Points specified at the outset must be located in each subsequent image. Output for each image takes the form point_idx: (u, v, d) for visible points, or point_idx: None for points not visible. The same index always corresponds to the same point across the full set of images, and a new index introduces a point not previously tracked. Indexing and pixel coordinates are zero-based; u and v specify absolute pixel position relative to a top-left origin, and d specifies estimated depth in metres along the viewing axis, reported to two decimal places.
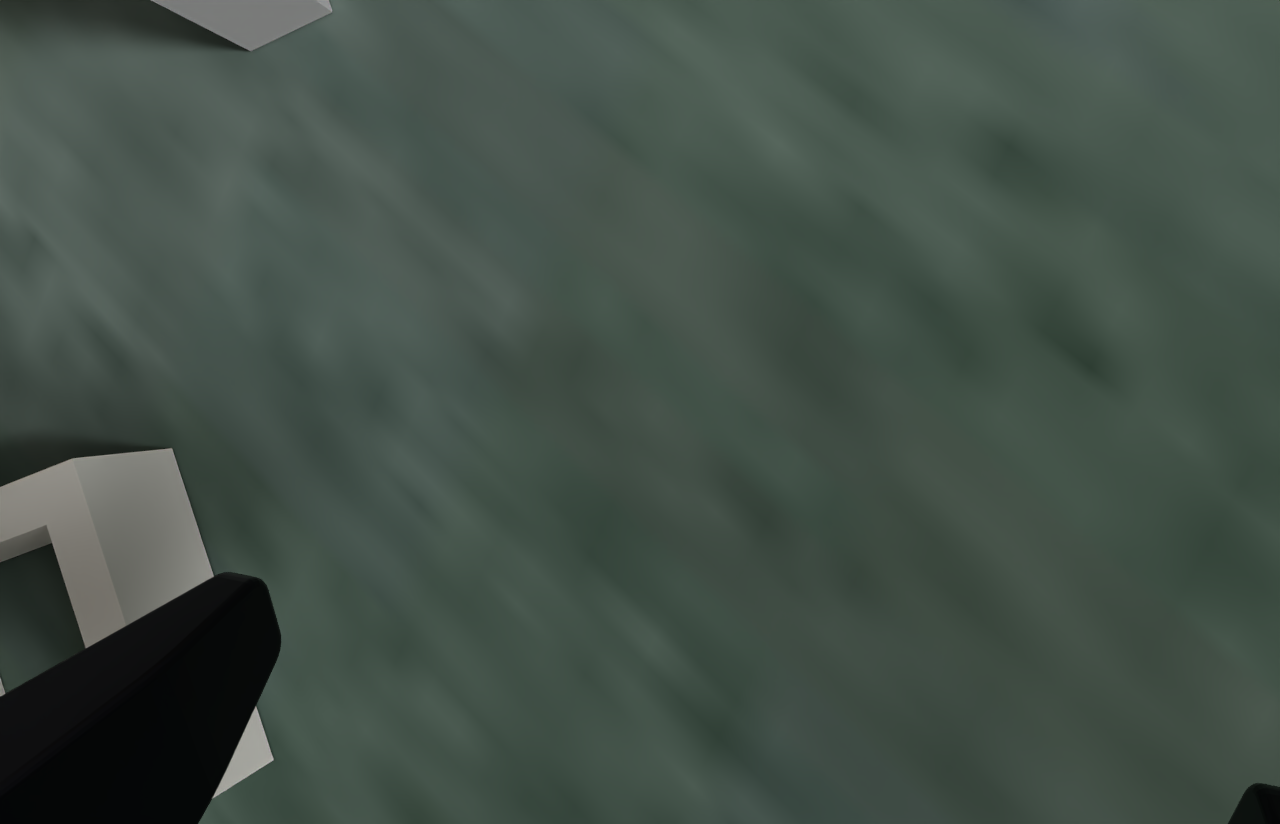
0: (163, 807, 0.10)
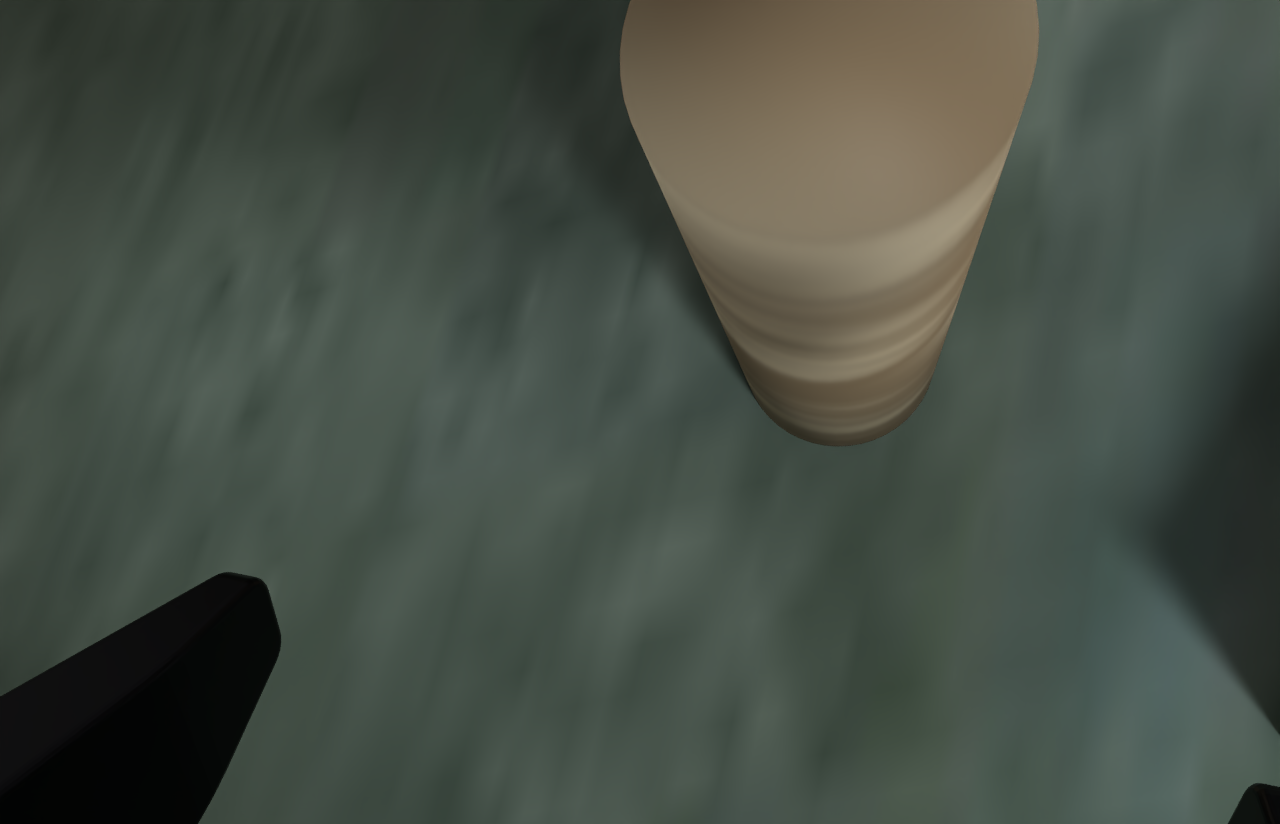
0: (163, 807, 0.10)
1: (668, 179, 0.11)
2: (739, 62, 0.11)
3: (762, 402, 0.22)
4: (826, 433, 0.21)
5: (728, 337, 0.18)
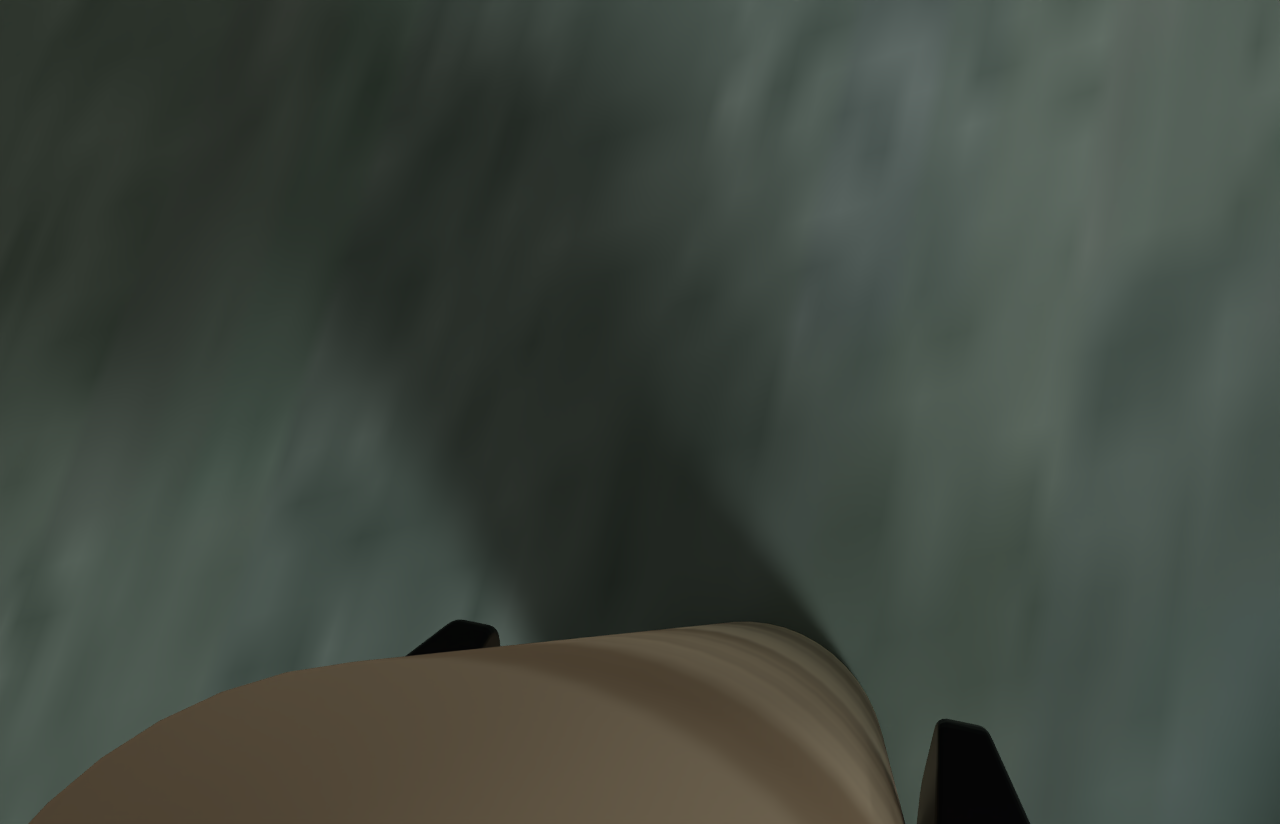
0: None
1: None
2: None
3: None
4: None
5: None
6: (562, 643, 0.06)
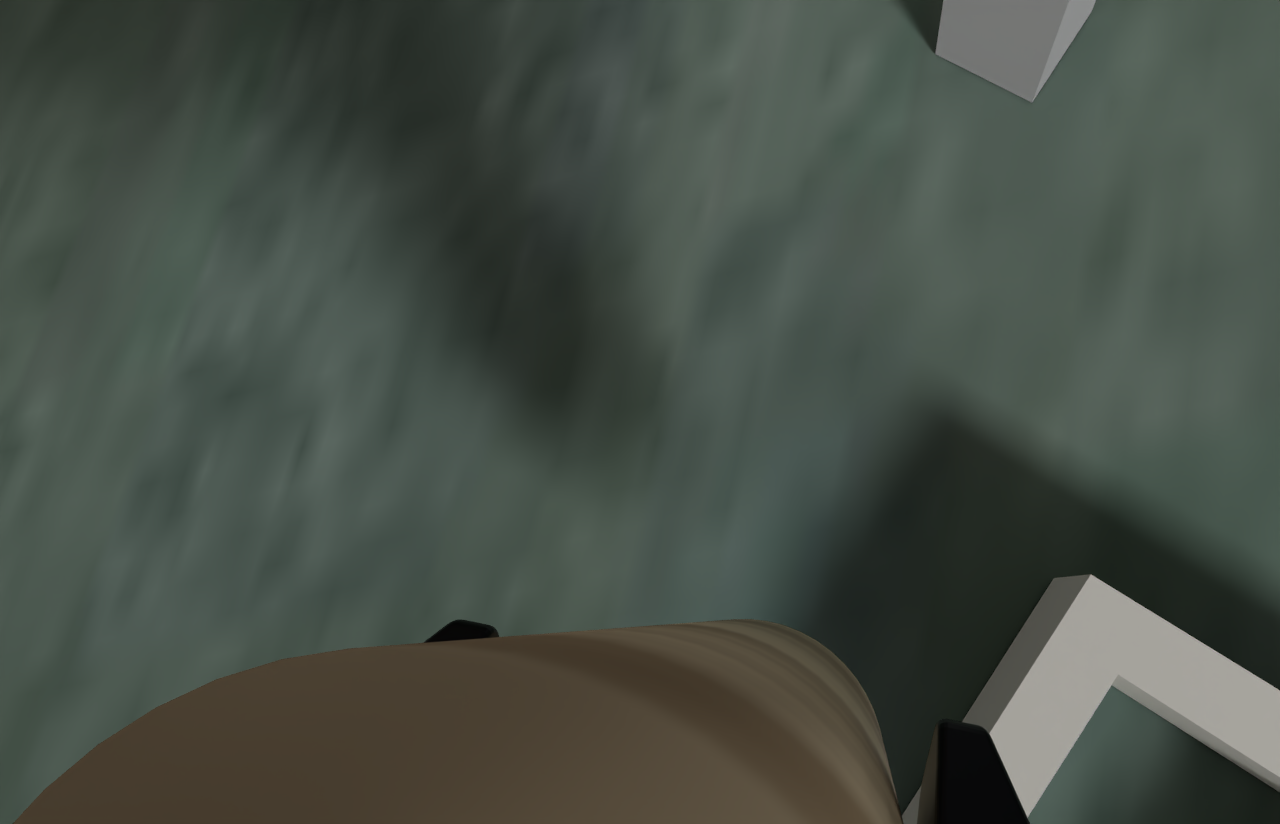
0: None
1: None
2: None
3: None
4: None
5: None
6: (558, 634, 0.06)
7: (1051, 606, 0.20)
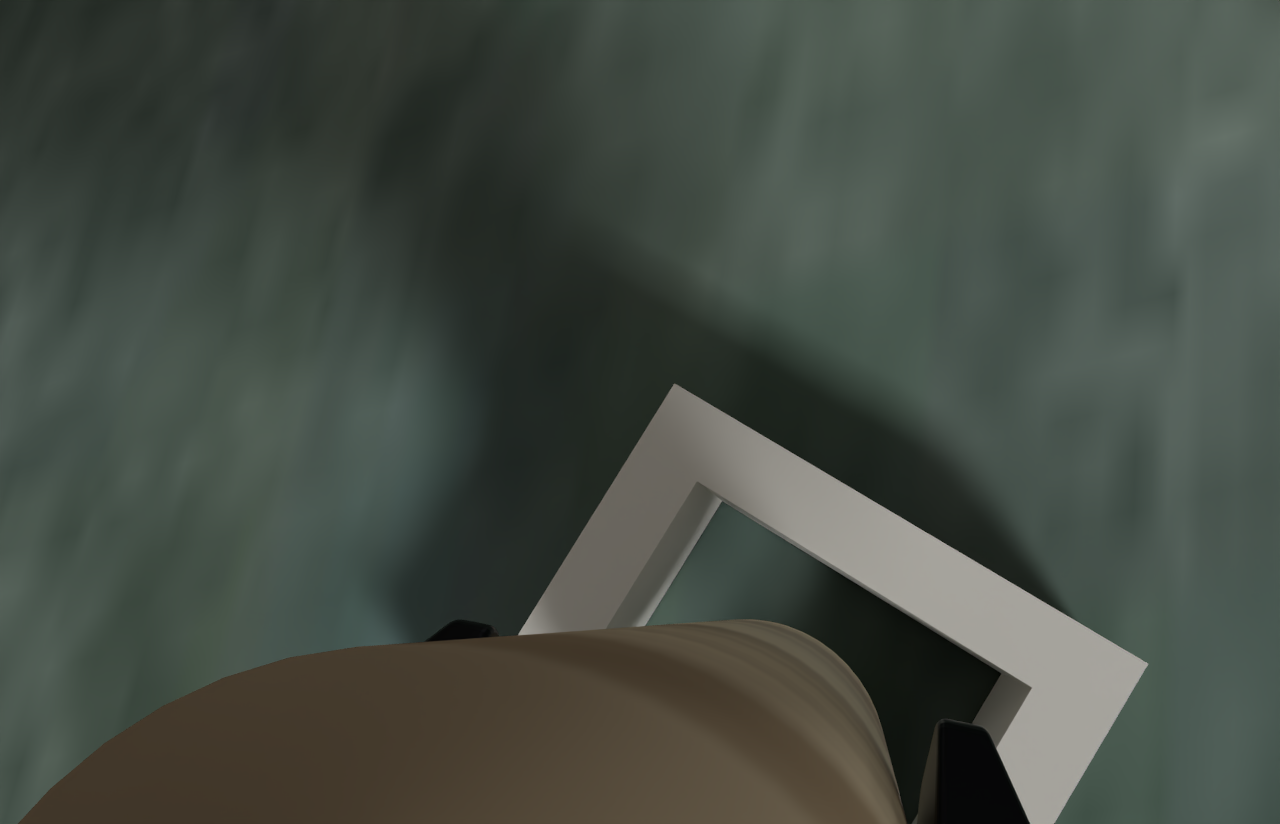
0: None
1: None
2: None
3: None
4: None
5: None
6: (563, 633, 0.06)
7: None
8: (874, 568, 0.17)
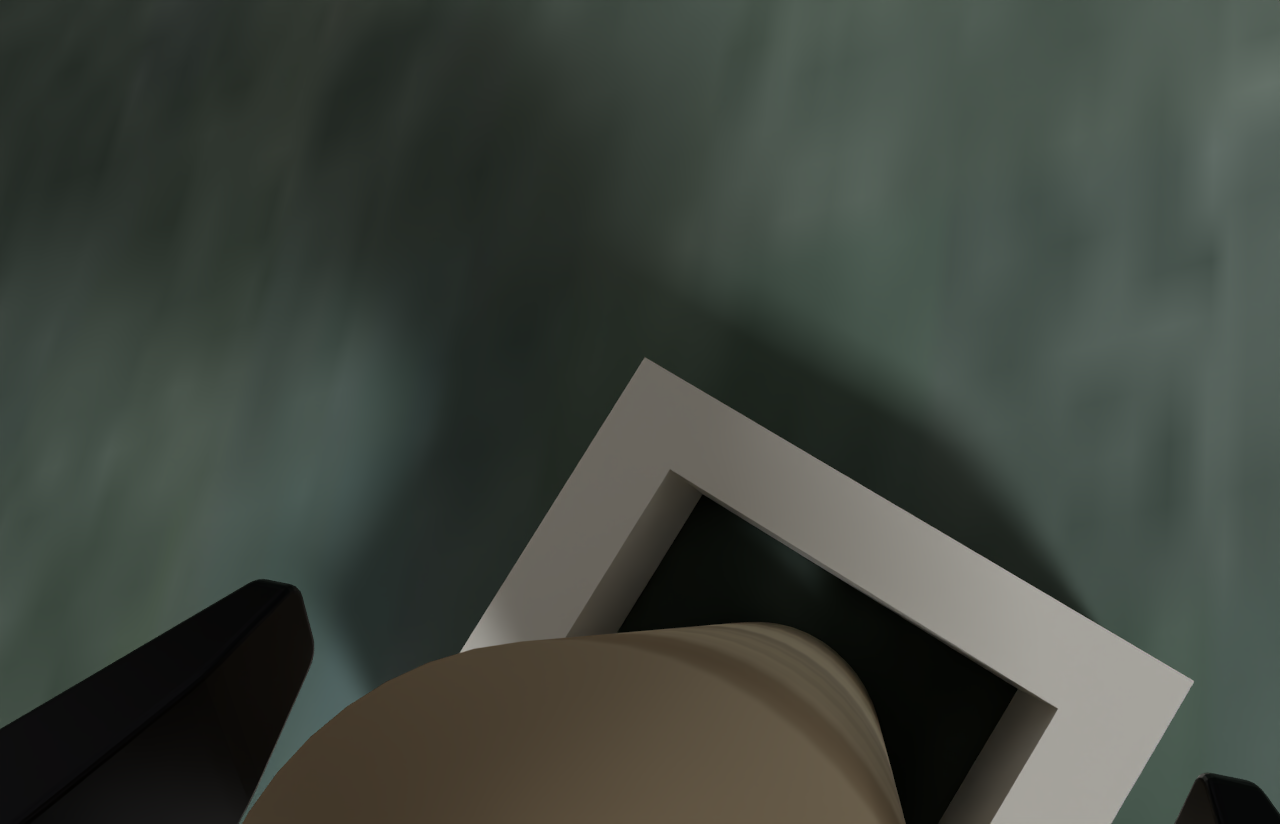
0: (200, 817, 0.09)
1: None
2: None
3: None
4: None
5: None
6: (634, 633, 0.08)
7: None
8: (874, 569, 0.15)
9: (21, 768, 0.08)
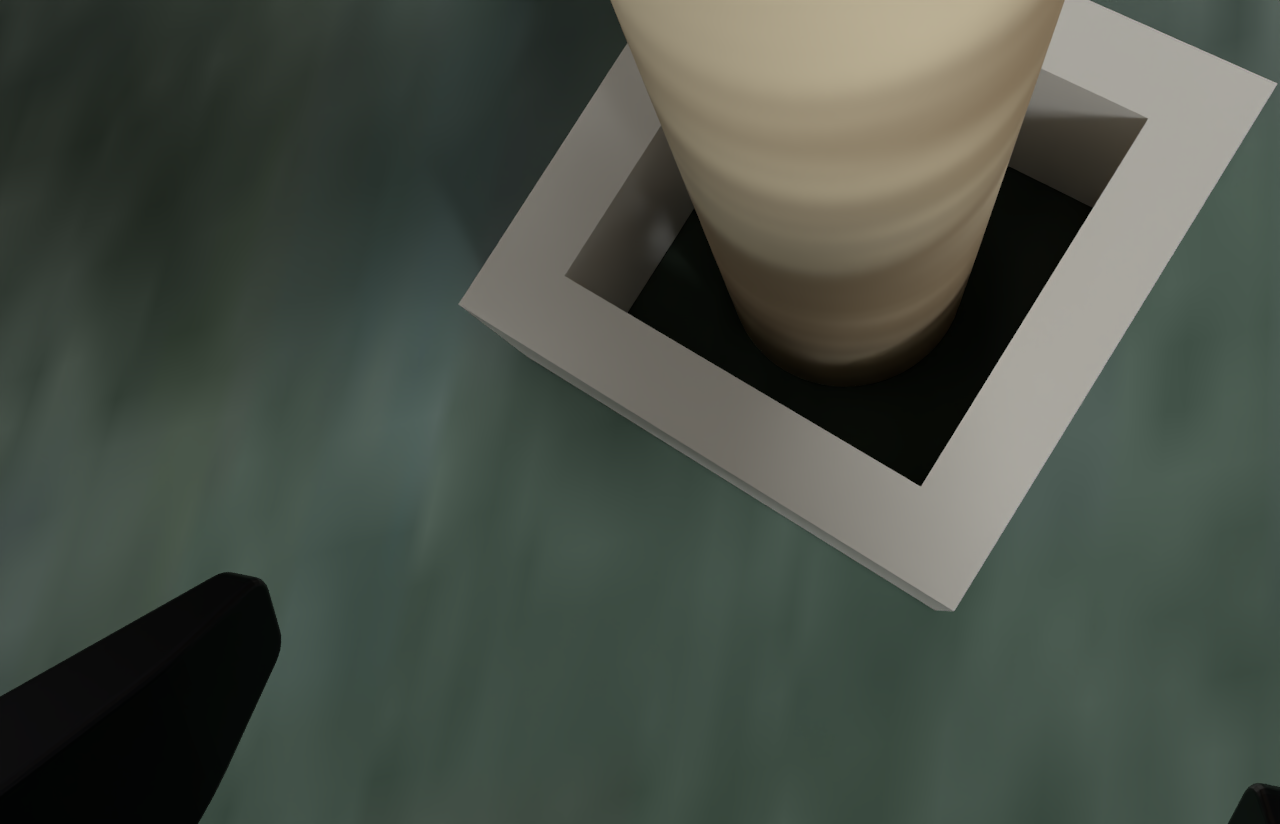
0: (163, 807, 0.10)
1: None
2: None
3: (752, 329, 0.18)
4: (831, 366, 0.17)
5: (704, 228, 0.14)
6: None
7: None
8: None
9: None
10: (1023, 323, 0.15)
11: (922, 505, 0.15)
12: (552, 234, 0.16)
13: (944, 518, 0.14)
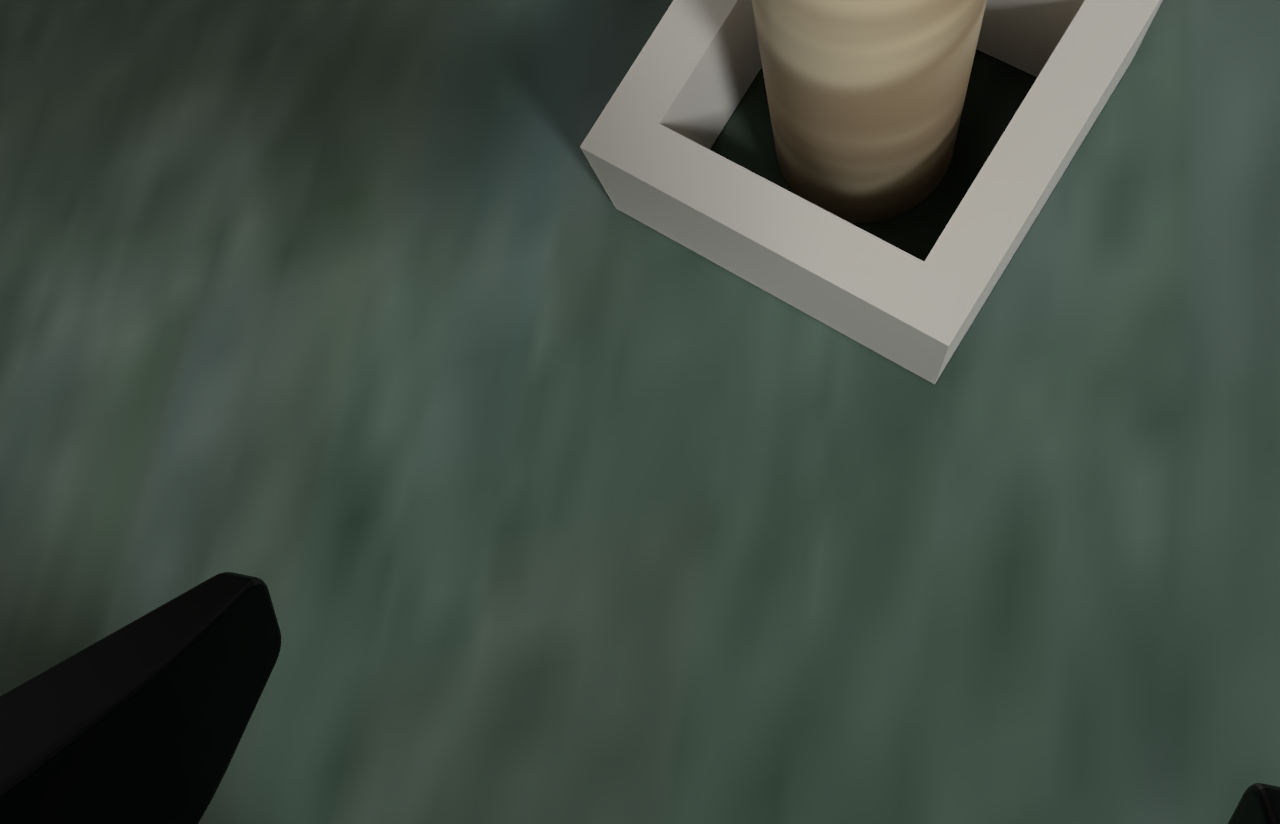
0: (163, 807, 0.10)
1: None
2: None
3: (795, 172, 0.23)
4: (855, 197, 0.23)
5: (770, 70, 0.20)
6: None
7: None
8: None
9: None
10: (997, 144, 0.20)
11: (925, 274, 0.20)
12: (649, 94, 0.22)
13: (941, 282, 0.20)
